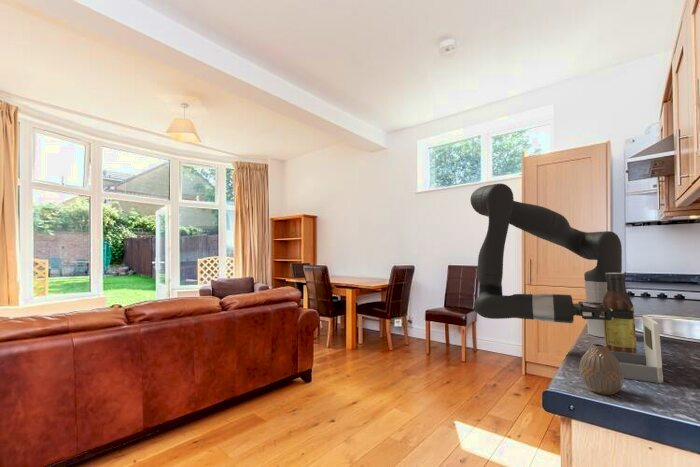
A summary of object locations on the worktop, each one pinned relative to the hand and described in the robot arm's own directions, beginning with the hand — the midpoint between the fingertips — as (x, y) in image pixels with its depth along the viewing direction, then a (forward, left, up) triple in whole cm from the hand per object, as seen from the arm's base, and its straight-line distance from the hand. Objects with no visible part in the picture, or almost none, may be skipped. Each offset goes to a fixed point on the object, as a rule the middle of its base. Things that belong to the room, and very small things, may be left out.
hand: (629, 312), depth 84 cm
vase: (+26, -9, -12) cm, 30 cm away
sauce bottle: (0, -2, -10) cm, 10 cm away
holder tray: (+11, -4, -12) cm, 17 cm away
